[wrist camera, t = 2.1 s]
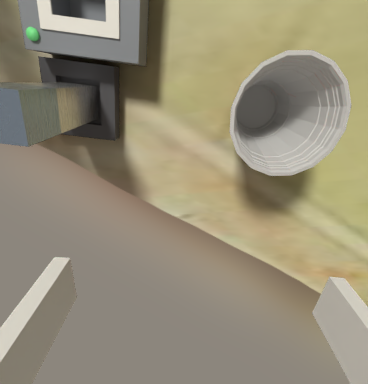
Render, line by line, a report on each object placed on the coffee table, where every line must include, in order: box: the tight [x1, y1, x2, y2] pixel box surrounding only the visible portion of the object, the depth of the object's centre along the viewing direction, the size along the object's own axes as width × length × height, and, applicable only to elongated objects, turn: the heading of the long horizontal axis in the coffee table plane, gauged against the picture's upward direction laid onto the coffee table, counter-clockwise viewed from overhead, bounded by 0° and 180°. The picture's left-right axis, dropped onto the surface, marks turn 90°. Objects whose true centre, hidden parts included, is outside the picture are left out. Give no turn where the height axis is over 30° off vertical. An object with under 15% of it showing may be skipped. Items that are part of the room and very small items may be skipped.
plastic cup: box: [230, 50, 351, 176], centre depth 25 cm, size 11×11×12 cm
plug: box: [0, 82, 99, 146], centre depth 23 cm, size 4×4×15 cm
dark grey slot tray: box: [38, 56, 119, 141], centre depth 30 cm, size 9×9×2 cm
